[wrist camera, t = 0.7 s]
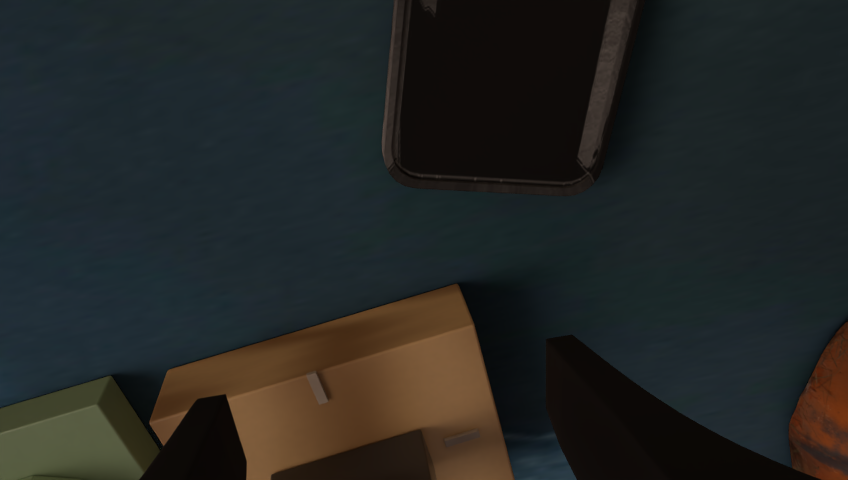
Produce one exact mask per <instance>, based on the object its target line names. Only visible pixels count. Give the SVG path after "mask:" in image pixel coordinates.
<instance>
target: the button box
mask: <svg viewBox="0 0 848 480" xmlns="http://www.w3.org/2000/svg"><path fill="white" fill-rule="evenodd" d="M159 452H160V450H159V448H158V447H157V445H156V443H155V442H154V440H153V439H152V437H151V436H150V434H149V433H148V431H147V430H146V428H145V427H144V425H143V423H142V422H141V420H140V419H139V417H138V416H137V414H136V413H135V411H134V410H133V408H132V407H131V405H130V404H129V402H128V400H127V399H126V397H125V396H124V394H123V393H122V391H121V390H120V388H119V387H118V385H117V384H116V382H115V380H114V379H113V377H112V376H107V377H104V378H101V379H97V380H94V381H91V382H87V383H84V384H81V385H77V386H74V387H71V388H67V389H64V390H60V391H57V392H54V393H50V394H47V395H44V396H40V397H37V398H34V399H30V400H27V401H24V402H20V403H17V404H14V405H10V406H7V407H4V408H0V480H139V479H140V478H141V477H142V475H143V474H144V472H145V471H146V470H147V468H148V467H149V466H150V464H151V463H152V462H153V460H154V459H155V458H156V456H157V455H158V453H159Z"/></svg>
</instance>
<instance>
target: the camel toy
mask: <svg viewBox="0 0 848 480" xmlns="http://www.w3.org/2000/svg"><path fill="white" fill-rule="evenodd" d="M789 445H790V453H791V460H792V468H793V469H795V470H798V471H800V472H803V473H805V474H808V475H811V476H813V477H816V478H819V479H821V480H848V321H847V322H846V323H845V324H844V325H843V326H842V327H841V328H840V329H839V330H838V331H837V333H836V334H835V335H834V337H833V338H832V339H831V340H830V342H829V344H828V345H827V347H826V348H825V350H824V352H823V353H822V355H821V357H820V359H819V361H818V363H817V365H816V367H815V369H814V371H813V373H812V375H811V377H810V379H809V381H808V383H807V385H806V387H805V389H804V391H803V392H802V394H801V396H800V398H799V401H798V404H797V407H796V409H795V411H794V413H793V415H792V417H791V420H790V423H789Z"/></svg>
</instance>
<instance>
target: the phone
mask: <svg viewBox="0 0 848 480" xmlns="http://www.w3.org/2000/svg"><path fill="white" fill-rule="evenodd" d="M644 3H645V0H394V8H393V20H392V31H391V42H390V54H389V65H388V77H387V88H386V100H385V111H384V123H383V134H382V154H383V157H384V161H385V164H386V167H387V169H388V171H389V174H390V175H391V176H392V177H393V178H394V179H395V180H396V181H397V182H399V183H401V184H402V185H404V186H407V187H412V188H420V189H439V190H458V191H477V192H496V193H515V194H534V195H553V196H571V195H576V194H579V193H581V192H584V191H585V190H586V189H588V188H589V187H590V186H592V185H593V184H594V182H595V181H596V180H597V178H598V177H599V175H600V173H601V170H602V168H603V164H604V160H605V157H606V153H607V149H608V145H609V141H610V137H611V133H612V129H613V125H614V121H615V117H616V113H617V109H618V105H619V102H620V98H621V94H622V90H623V86H624V82H625V78H626V74H627V70H628V66H629V62H630V58H631V54H632V50H633V46H634V43H635V39H636V35H637V31H638V27H639V23H640V19H641V15H642V11H643V7H644Z"/></svg>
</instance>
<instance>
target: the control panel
mask: <svg viewBox="0 0 848 480" xmlns="http://www.w3.org/2000/svg"><path fill="white" fill-rule="evenodd" d="M222 394H226V397H227V400H228V403H229V406H230V409H231V412H232V416H233V419H234V422H235V425H236V428H237V431H238V435H239V438H240V441H241V444H242V447H243V450H244V454H245V457H246V460H247V477H246V480H271V475H272V474H274V473H278V472H281V471H284V470H287V469H291V468H294V467H297V466H301V465H304V464H307V463H311V462H314V461H317V460H320V459H324V458H327V457H330V456H334V455H337V454H340V453H343V452H347V451H350V450H353V449H357V448H360V447H363V446H366V445H370V444H373V443H376V442H380V441H383V440H386V439H389V438H393V437H396V436H399V435H403V434H406V433H409V432H412V431H416V430H421V431H422V433H423V436H424V439H425V442H426V445H427V448H428V450H429V453H430V456H431V459H432V462H433V465H434V468H435V473H436V478H437V480H515V479H514V475H513V471H512V467H511V463H510V460H509V456H508V452H507V448H506V444H505V440H504V436H503V433H502V429H501V425H500V421H499V417H498V413H497V409H496V406H495V402H494V398H493V394H492V390H491V386H490V382H489V379H488V375H487V371H486V367H485V363H484V359H483V356H482V352H481V348H480V344H479V340H478V336H477V332H476V329H475V325H474V322H473V320H472V317H471V315H470V312H469V310H468V307H467V305H466V302H465V300H464V297H463V295H462V292H461V290H460V287H459V285H458V284H453V285H450V286H447V287H443V288H440V289H437V290H433V291H430V292H427V293H423V294H420V295H417V296H413V297H410V298H407V299H403V300H400V301H397V302H393V303H390V304H387V305H383V306H380V307H377V308H373V309H370V310H367V311H363V312H360V313H357V314H353V315H350V316H346V317H343V318H340V319H336V320H333V321H330V322H326V323H323V324H320V325H316V326H313V327H310V328H306V329H303V330H300V331H296V332H293V333H290V334H286V335H283V336H280V337H276V338H273V339H270V340H266V341H263V342H260V343H256V344H253V345H250V346H246V347H243V348H240V349H236V350H233V351H230V352H226V353H223V354H220V355H216V356H213V357H209V358H206V359H203V360H199V361H196V362H193V363H189V364H186V365H183V366H179V367H176V368H173V369H169V370H168V371H167V373H166V376H165V379H164V382H163V385H162V388H161V390H160V393H159V396H158V399H157V402H156V405H155V407H154V410H153V413H152V416H151V419H150V425H151V427H152V429H153V430H154V432H155V433H156V435H157V436H158V438H159V439H160V441H161V442H162V444H163V446H164V445H165V444H166V442H167V441H168V439H169V438H170V437H171V435H172V434H173V432H174V431H175V429H176V428H177V426H178V425H179V424H180V422H181V421H182V419H183V418H184V416H185V415H186V413H187V412H188V410H189V409H190V408H191V406H192V405H193V403H194V402H195V401H196V400H197V399H199V398H205V397H210V396H216V395H222Z"/></svg>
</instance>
